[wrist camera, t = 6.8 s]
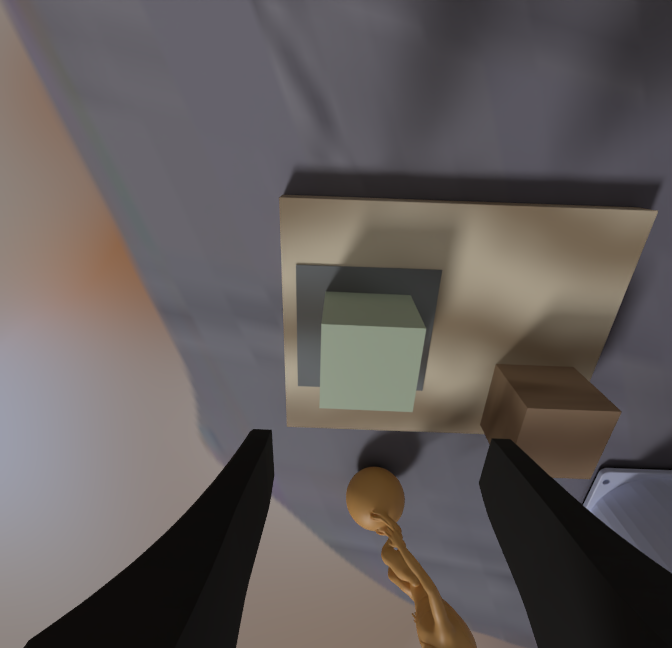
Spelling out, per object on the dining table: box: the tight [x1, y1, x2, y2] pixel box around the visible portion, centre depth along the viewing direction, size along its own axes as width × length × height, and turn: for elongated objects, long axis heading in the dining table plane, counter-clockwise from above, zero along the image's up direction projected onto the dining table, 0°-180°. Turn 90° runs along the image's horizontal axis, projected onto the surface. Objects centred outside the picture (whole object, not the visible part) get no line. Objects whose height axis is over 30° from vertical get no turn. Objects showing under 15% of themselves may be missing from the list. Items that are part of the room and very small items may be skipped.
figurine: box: [346, 467, 477, 648], centre depth 21 cm, size 8×6×12 cm
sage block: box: [319, 292, 426, 412], centre depth 18 cm, size 4×4×4 cm
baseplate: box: [279, 195, 658, 434], centre depth 21 cm, size 14×18×1 cm
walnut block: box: [480, 364, 621, 479], centre depth 20 cm, size 4×4×4 cm
